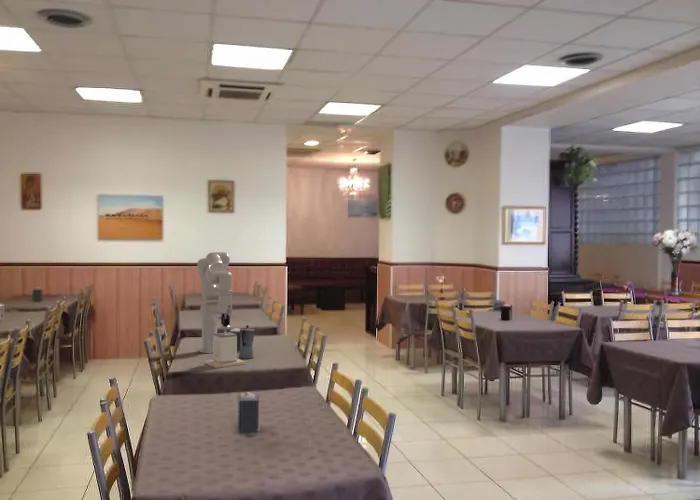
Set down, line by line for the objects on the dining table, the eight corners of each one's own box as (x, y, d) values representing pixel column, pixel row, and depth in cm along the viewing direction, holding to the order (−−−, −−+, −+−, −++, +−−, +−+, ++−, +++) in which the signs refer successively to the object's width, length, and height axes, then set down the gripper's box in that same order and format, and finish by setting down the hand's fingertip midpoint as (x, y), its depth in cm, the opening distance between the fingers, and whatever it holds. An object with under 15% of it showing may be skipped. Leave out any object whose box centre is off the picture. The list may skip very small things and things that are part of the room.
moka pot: (257, 355, 409) (257, 323, 408) (251, 360, 394) (251, 327, 393) (242, 355, 410) (242, 323, 409) (235, 360, 394) (235, 327, 394)
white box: (204, 363, 385) (204, 333, 384) (234, 359, 396) (234, 330, 396) (215, 368, 373) (215, 337, 372) (245, 364, 384) (245, 334, 384)
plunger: (216, 356, 385) (216, 317, 384) (228, 355, 390) (228, 316, 389) (222, 358, 379) (222, 318, 378) (234, 357, 384) (234, 317, 383)
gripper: (213, 292, 387) (213, 323, 388) (225, 295, 374) (225, 327, 375) (225, 292, 392) (225, 322, 393) (237, 294, 379) (237, 326, 379)
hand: (225, 324), depth 384 cm, fingers closed on plunger, 3 cm apart
